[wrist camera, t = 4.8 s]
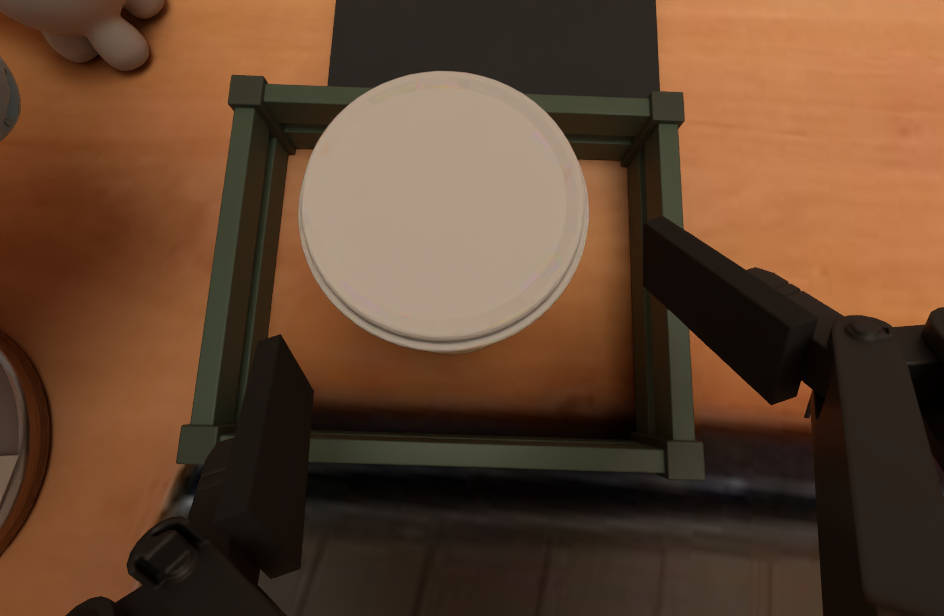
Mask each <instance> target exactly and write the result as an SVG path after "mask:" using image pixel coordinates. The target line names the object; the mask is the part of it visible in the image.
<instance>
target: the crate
mask: <svg viewBox="0 0 944 616" xmlns="http://www.w3.org/2000/svg"><path fill="white" fill-rule="evenodd" d="M371 89H373V88H358V87H332V86H306V85H280V84H268V83H267V81H266V79H265V78H264V77H263V76H246V75H232V77H231V83H230V90H229V97H228V105H229V106H230V107H231V108H232V109H233V111H234V117H233V124H232V131H231V138H230V145H229V153H228V160H227V167H226V174H225V181H224V188H223V195H222V202H221V209H220V217H219V224H218V231H217V238H216V245H215V252H214V259H213V266H212V274H211V281H210V288H209V295H208V302H207V309H206V316H205V323H204V330H203V338H202V345H201V352H200V359H199V366H198V373H197V380H196V387H195V394H194V402H193V409H192V416H191V423H190V424H187V425H182V426H181V432H180V439H179V446H178V453H177V460H176V463H177V464H197V465H204V463H205V460H206V458H207V457H208V455H209V454H210V452H211V451H212V449H213V448H214V447H215V445H216V444H217V442H220V441H223V440H227V439H230V438H233V437H234V435H235V431H236V427H237V423H238V419H239V415H240V411H241V408H242V404H243V400H244V396H245V392H246V388H247V384H248V380H249V376H250V372H251V368H252V364H253V360H254V356H255V352H256V348H257V344H258V341H261V340H264V339H267V335H268V326H269V317H270V308H271V300H272V291H273V282H274V273H275V265H276V256H277V247H278V239H279V230H280V221H281V212H282V204H283V195H284V186H285V178H286V169H287V160H288V154H295V150H296V148H303V149H314V148H315V146H316V144H317V142H318V140H319V139H320V137H321V136H322V134H323V133H324V131H325V129H326V128H327V127H328V126H329V124H330V123H331V122H332V121H333V120H334V118H335V117H336V116H337V115H338V114H339V113H340V112H341V111H342V110H343V109H344V108H346V107H347V106H348V105H349V104H350V103H352V102H353V101H354V100H355V99H357V98H358V97H360V96H361V95H363V94H364V93H366V92H368V91H369V90H371ZM524 95H525V96H527V97H528V98H530V99H531V100H532V101H534V102H535V103H536V104H537V105H539V106H540V107H541V108H542V109H543V110H544V111H545V112H546V113H547V114H548V115H549V116H550V117H551V118H552V119H553V120H554V121H555V123H556V124H557V125H558V127H559V128H560V129H561V131H562V132H563V134H564V135H565V137H566V138H567V140H568V142H569V143H570V145H571V147H572V149H573V151H574V153H575V155H576V157H577V159H598V160H621V167H628V191H629V222H630V253H631V284H632V316H633V347H634V378H635V409H636V432H629V440H620V439H589V438H558V437H527V436H496V435H465V434H434V433H403V432H372V431H341V430H311V436H310V449H309V462H324V463H356V464H388V465H419V466H451V467H482V468H514V469H545V470H577V471H608V472H640V473H655V474H657V475H660V476H662V477H664V478H667V479H669V480H701V481H704V480H705V465H704V447H703V442H701V441H696V440H695V430H694V411H693V393H692V375H691V356H690V338H689V328H688V327H687V326H686V325H684V324H683V323H682V322H681V321H680V320H679V319H678V318H677V317H676V316H675V315H674V314H673V313H672V312H671V311H669V310H668V309H667V308H666V307H665V306H664V305H663V304H662V303H661V302H660V301H659V300H658V299H657V298H655V297H654V296H653V295H652V294H651V293H650V292H649V291H648V290H647V289H646V288H645V287H644V286H643V222H644V221H647V220H650V219H654V218H657V217H660V216H664V217H665V218H667V219H669V220H670V221H672V222H673V223H675V224H676V225H678V226H679V227H681V228H682V229H684V228H683V210H682V191H681V173H680V155H679V136H678V129H679V127H680V126H681V125H682V124H683V122H684V121H685V118H684V100H683V92H662V91H652V92H651V93H650V95H649V96H648V98H647V99H645V98H619V97H593V96H567V95H541V94H524Z"/></svg>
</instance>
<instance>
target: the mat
mask: <svg viewBox="0 0 944 616" xmlns="http://www.w3.org/2000/svg"><path fill="white" fill-rule="evenodd" d="M433 71H454V72H464V73H471V74H475V75H479V76H483V77H487V78H490V79H493V80H496V81H499V82H501V83H503V84H505V85H508V86H510V87H512V88H514V89H515V90H517V91H519V92H521V93H523V94H541V95H567V96H593V97H619V98H645V99H647V98H648V96H649V95H650V93H651V92H652V91H660V83H659V62H658V40H657V19H656V0H336V7H335V17H334V27H333V37H332V47H331V57H330V67H329V77H328V86H332V87H358V88H375V87H377V86H379V85H381V84H383V83H386V82H388V81H391V80H394V79H397V78H400V77H403V76H407V75H410V74H417V73H423V72H433Z"/></svg>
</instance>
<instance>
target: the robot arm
mask: <svg viewBox="0 0 944 616" xmlns="http://www.w3.org/2000/svg"><path fill="white" fill-rule="evenodd" d="M20 108H21V104H20V95H19V90H18V86H17V84H16V81H15V79H14V77H13V75H12V73H11V71H10V70H9V68H8V67H7V65H6V63H5V62H4V61H3V59H2V58H1V57H0V142H1V141H2V140H3V139H4V138H5V137H6V136H7V135H8V134H9V133H10V132H11V131H12V129H13V127H14V126H15V124H16V122H17V120H18V117H19V114H20ZM643 286H644V287H645V288H646V289H647V290H648V291H649V292H650V293H651V294H652V295H653V296H654V297H655V298H657V299H658V300H659V301H660V302H661V303H662V304H663V305H664V306H665V307H666V308H667V309H668V310H669V311H671V312H672V313H673V314H674V315H675V316H676V317H677V318H678V319H679V320H680V321H681V322H682V323H683V324H684V325H686V326H687V327H688V328H689V329H690V330H691V331H692V332H693V333H694V334H695V335H696V336H697V337H698V338H700V339H701V340H702V341H703V342H704V343H705V344H706V345H707V346H708V347H709V348H710V349H711V350H712V351H713V352H715V353H716V354H717V355H718V356H719V357H720V358H721V359H722V360H723V361H724V362H725V363H726V364H727V365H729V366H730V367H731V368H732V369H733V370H734V371H735V372H736V373H737V374H738V375H739V376H740V377H741V378H742V379H744V380H745V381H746V382H747V383H748V384H749V385H750V386H751V387H752V388H753V389H754V390H755V391H756V392H758V393H759V394H760V395H761V396H762V397H763V398H764V399H765V400H766V401H767V402H768V403H769V404H770V405H773V404H776V403H779V402H782V401H785V400H788V399H790V398H793V397H796V396H797V393H798V389H799V386H800V382H801V380H802V381H803V382H804V383H805V384H806V385H808V386H809V387H810V388H811V389H813V390H812V393H811V396H810V399H809V403H808V406H807V409H806V413H805V416H804V418H809V417H810V414H811V425H812V441H813V457H814V473H815V490H816V506H817V522H818V538H819V554H820V571H821V587H822V603H823V616H944V497H943V493H942V490H941V486H940V482H939V479H938V475H937V471H936V468H935V464H934V460H933V457H932V454H933V456H934V458H935V459H936V461H937V462H938V464H939V466H940V467H941V469H942V470H943V472H944V307H942V308H938V309H936V310H934V311H932V312H931V313H930V315H929V318H928V320H927V322H926V324H925V325H916V326H903V327H892V326H891V325H889V324H888V323H886V322H884V321H881V320H879V319H876V318H872V317H867V316H862V315H849V316H845V317H844V316H843V315H841V314H839V313H838V312H836V311H835V310H833V309H831V308H830V307H828V306H826V305H825V304H823V303H822V302H820V301H818V300H817V299H815V298H814V297H812V296H810V295H809V294H807V293H805V292H804V291H800V289H799V288H797V287H796V286H794V285H792V284H789V283H788V281H786V280H784V279H783V278H781V277H780V276H778V275H776V274H775V273H772V272H769V271H766V270H763V269H759V268H756V267H754V268H751V269H748V270H745V269H743V268H742V267H740V266H739V265H737V264H736V263H734V262H733V261H731V260H730V259H728V258H727V257H725V256H724V255H722V254H721V253H719V252H717V251H716V250H714V249H713V248H711V247H710V246H708V245H707V244H705V243H704V242H702V241H701V240H699V239H698V238H696V237H695V236H693V235H691V234H690V233H688V232H687V231H685V230H684V229H682V228H681V227H679V226H678V225H676V224H675V223H673V222H672V221H670V220H669V219H667V218H665V217H664V216H660V217H657V218H654V219H650V220H647V221H644V222H643ZM313 396H314V390H313V389H312V387H311V385H310V384H309V382H308V380H307V378H306V377H305V375H304V373H303V372H302V370H301V368H300V366H299V365H298V363H297V361H296V360H295V358H294V356H293V354H292V353H291V351H290V349H289V348H288V346H287V344H286V342H285V341H284V339H283V337H282V336H281V334H280V335H277V336H274V337H270V338H267V339H264V340H261V341H258V344H257V348H256V352H255V356H254V360H253V364H252V368H251V372H250V376H249V380H248V384H247V388H246V392H245V396H244V400H243V404H242V408H241V411H240V415H239V419H238V423H237V427H236V431H235V435H234V437H233V438H230V439H227V440H223V441H220V442H217V444H216V445H215V447H214V448H213V449H212V451H211V452H210V454H209V455H208V457H207V458H206V460H205V463H204V466H203V470H202V473H201V479H200V480H199V483H198V486H197V492H196V493H195V496H194V499H193V503H192V506H191V509H190V513H189V516H188V519H186V518H184V517H182V516H181V517H171V518H169V519H166V520H164V521H162V522H160V523H158V524H157V525H155V526H154V527H153V528H151V529H150V530H148V531H147V532H146V533H145V534H144V535H143V536H142V538H141V539H140V540H139V541H138V542H137V543H136V545H135V546H134V548H133V550H132V551H131V553H130V555H129V559H128V562H127V569H128V574H129V575H130V576H132V577H133V578H135V579H136V580H137V581H139V582H140V583H141V584H143V586H141V587H139V588H138V589H136V590H135V591H133V592H131V593H130V594H128V595H127V596H125V597H124V598H122V599H120V600H119V601H117V602H116V603H115V602H113V601H112V600H110V599H108V598H105V597H102V596H100V597H95V598H91V599H88V600H87V601H85V602H83V603H81V604H79V605H78V606H76V607H75V608H74V609H73V610H71V611H70V612H69V613H68V614H67V615H66V616H287V615H286V614H285V613H284V612H283V611H282V610H281V609H280V608H279V607H278V606H277V605H276V604H275V603H274V602H273V601H272V599H271V598H270V597H269V596H268V595H267V594H266V593H265V592H264V591H263V590H262V589H261V588H260V587H259V586H258V579H259V573H260V569H261V570H262V571H263V572H264V573H265V574H266V575H267V576H268V577H269V578H270V579H272V578H275V577H278V576H281V575H284V574H287V573H290V572H292V571H295V570H298V569H300V568H301V555H302V542H303V528H304V515H305V502H306V489H307V475H308V462H309V449H310V436H311V422H312V409H313ZM49 440H50V424H49V413H48V406H47V401H46V397H45V394H44V390H43V387H42V385H41V382H40V380H39V377H38V375H37V373H36V371H35V369H34V367H33V366H32V364H31V363H30V361H29V360H28V358H27V357H26V355H25V354H24V353H23V352H22V351H21V349H20V348H19V347H18V346H17V345H16V344H15V343H14V342H13V341H12V340H11V339H10V338H8V337H7V336H6V335H5V334H3V333H2V332H0V554H1V553H2V551H3V550H4V549H5V548H6V546H7V545H8V544H9V543H10V541H11V540H12V539H13V537H14V536H15V535H16V533H17V531H18V530H19V528H20V527H21V525H22V524H23V522H24V520H25V519H26V517H27V515H28V513H29V511H30V509H31V507H32V505H33V503H34V501H35V498H36V496H37V494H38V491H39V488H40V485H41V482H42V479H43V476H44V472H45V468H46V464H47V458H48V451H49Z"/></svg>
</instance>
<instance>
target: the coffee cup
mask: <svg viewBox="0 0 944 616" xmlns="http://www.w3.org/2000/svg"><path fill="white" fill-rule="evenodd" d="M298 222H299V232H300V238H301V243H302V247H303V251H304V254H305V257H306V260H307V263H308V265H309V267H310V269H311V271H312V273H313V276H314V277H315V279H316V281H317V282H318V284H319V286H320V287H321V289H322V290H323V292H324V293H325V294H326V296H327V297H328V298H329V299H330V301H331V302H332V303H333V304H334V305H335V306H336V307H337V308H338V309H339V310H340V311H341V312H342V313H343V314H344V315H345V316H346V317H347V318H348V319H350V320H351V321H352V322H353V323H355V324H356V325H357V326H359V327H361V328H362V329H364V330H365V331H367V332H369V333H370V334H372V335H374V336H376V337H378V338H381V339H383V340H385V341H388V342H390V343H393V344H396V345H399V346H403V347H407V348H411V349H415V350H423V351H430V352H434V353H439V354H446V355H457V354H466V353H471V352H474V351H478V350H480V349H483V348H485V347H487V346H489V345H491V344H493V343H497V342H499V341H502V340H504V339H506V338H508V337H510V336H513V335H514V334H516V333H518V332H519V331H521V330H523V329H525V328H526V327H528V326H529V325H530V324H532V323H533V322H534V321H536V320H537V319H538V318H540V317H541V316H542V315H543V314H544V313H545V312H546V311H547V310H548V309H549V308H550V307H551V306H552V305H553V304H554V303H555V302H556V300H557V299H558V298H559V297H560V296H561V294H562V293H563V291H564V290H565V289H566V287H567V286H568V284H569V283H570V281H571V279H572V277H573V275H574V273H575V271H576V269H577V267H578V264H579V262H580V259H581V256H582V254H583V250H584V246H585V242H586V238H587V231H588V224H589V203H588V193H587V188H586V183H585V179H584V176H583V173H582V170H581V167H580V164H579V162H578V160H577V157H576V155H575V153H574V151H573V149H572V147H571V145H570V143H569V142H568V140H567V138H566V137H565V135H564V134H563V132H562V131H561V129H560V128H559V127H558V125H557V124H556V123H555V121H554V120H553V119H552V118H551V117H550V116H549V115H548V114H547V113H546V112H545V111H544V110H543V109H542V108H541V107H540V106H539V105H537V104H536V103H535V102H534V101H532V100H531V99H530V98H528V97H527V96H525V95H524V94H523V93H521V92H519V91H517V90H515V89H514V88H512V87H510V86H508V85H505V84H503V83H501V82H499V81H496V80H493V79H490V78H487V77H483V76H479V75H475V74H471V73H464V72H454V71H433V72H423V73H417V74H410V75H407V76H403V77H400V78H397V79H394V80H391V81H388V82H386V83H383V84H381V85H379V86H377V87H375V88H373V89H371V90H369V91H368V92H366V93H364V94H363V95H361V96H360V97H358V98H357V99H355V100H354V101H353V102H352V103H350V104H349V105H348V106H347V107H346V108H344V109H343V110H342V111H341V112H340V113H339V114H338V115H337V116H336V117H335V118H334V120H333V121H332V122H331V123H330V124H329V126H328V127H327V128H326V129H325V131H324V133H323V134H322V136H321V137H320V139H319V140H318V142H317V144H316V146H315V148H314V150H313V151H312V154H311V156H310V159H309V162H308V165H307V168H306V171H305V175H304V178H303V182H302V186H301V191H300V198H299V210H298Z"/></svg>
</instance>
